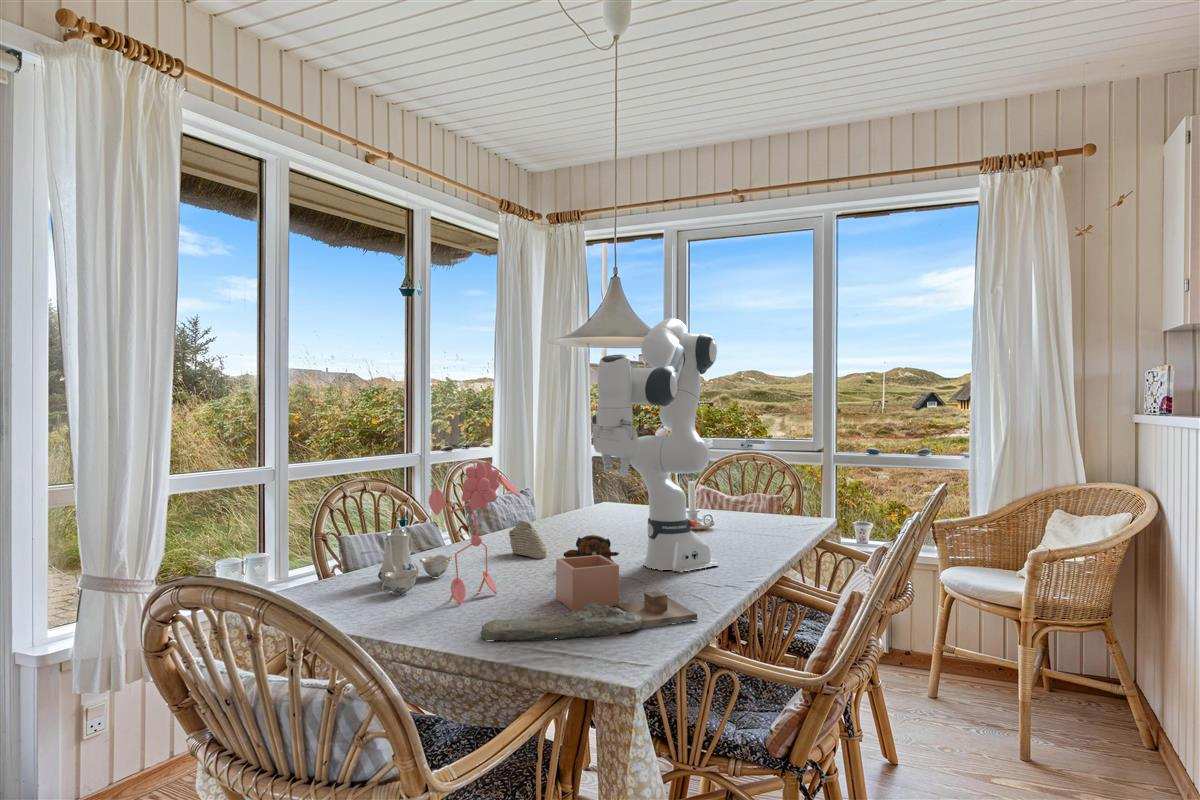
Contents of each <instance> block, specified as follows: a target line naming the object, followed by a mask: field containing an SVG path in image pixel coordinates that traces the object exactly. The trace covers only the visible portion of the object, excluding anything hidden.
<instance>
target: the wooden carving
mask: <svg viewBox="0 0 1200 800" xmlns="http://www.w3.org/2000/svg"><path fill="white" fill-rule="evenodd" d="M575 545H576V547H577V549H568V550H566V551H564V553H563V556H562V557H564V558H570V557H581V556H592V555H602V556H603V557H605V558H607V559H609V560H611V561H613V562H614V563H615V561H614V559H612V557H615V556H616V557H617V556H619V555H620V553H619V552H618V551H611V545H612V543H611V540H610V538H605V537H602V536H599V535H596V534H589V535H585V536H583V537H580V536H579V537H577V540H576V542H575Z"/></svg>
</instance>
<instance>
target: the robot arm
mask: <svg viewBox="0 0 1200 800" xmlns="http://www.w3.org/2000/svg"><path fill="white" fill-rule="evenodd" d="M640 345H641V346H640V352H641V355H642V358H643V360H644V361H645V363H647V364H648V365H649V366H650V367H633V366H631V360H630V357H629V356H628V355H626V354H612V355H605V356H603V357H601V358H600V359H599V362H598V363H599V364H598V368H597V369H598V370H597V380H596V381H597V384H596V385H597V386H596V387H597V389H596V390H597V393H598V404H597V411H596V413H595V414H594V415H592V416H591V418H590V421H591V422H590V423H591V425H592V426H593V427H592V442H593V443H592V444H593V448H594V451H595V452H596V453H599V454H601V460H602V463H603V470H604V471H605V472H612V471H613V463H612V460H611V458H612V457H616V458H619V459H620V468H619V470H618V471H619V473H618V474H619V476H621V477H627V476H628V475H629V467H630V465H631V467H632V468H633V469H634V470H636V471H637V472H638V474H639V475H640V476H641V478H642V479H643V481H644V484H645V486H646V489H647V494H648V496H647V497H648V511H649V512H648V513H649V514H648V516H649V517H648V518H647V538H648V540H647V548H646V553H645V558H644V562H643V566H644V567H645V566H646V568H648V569H651V568H652V570H655V569H658V570H657V571H663V570H674V571H685V570H690V569H695V568H699V567H704V566H708V565H714V564H717V563H718V564H719V561H718V560H717V559H715V558H712V556H711V549H710V547H709V544H708V543H707V542H706V540H704V539H702V538H701V536H698V535H697V534H696V533H695V532H693V531H692V528H697V527H698V525H699V523H698V521H697V520H693V519H692V520H691V519H689V518H687V495H686V493H685V491H684V489H683V488H681V486H679V485H677V484H676V483H674V482H673V480H672V479H671V477H670V474H684V475H685V474H687V475H688V474H695V473H701V472H703V471H704V470H705V469H706V468H707V466H708V464H709V463H710V458H711V454H710V449H709V446H708V444H707V443H706V441H705V440H703V439H702V437H700V435H699V434H698V431H697V430H696V416H697V411H698V405H699V401H700V395H701V386H702V385H701V384H702V378H701V375H704V374H705V373H706V372H707V371H708V370H709V369H710V368H711V367H712V366H713V365H714V363H715V361H716V360H717V359H716V358H717V354H718V347H717V342H716V340H715V338H714V337H713V336H712V335H710V334H707V333H694V332H688V328H687V326H686V324H685V323H684V322H683V321H682V320H680V319H678V318H674V317H669V318H666V319H664V320H662V321H660V322H658V323H657V324H656V325H655V326H653V327H652V329H650V331H648V333H646V335H645V336H644V338H643V340H642V342H641V344H640ZM633 405H636V406H638V405H639V406H642V405H645V406H647V405H649V406H651V405H652V406H658V407H659V406H660V408H659V411H658V415H659V420H660V422H661V423H662V425H664V427H666V428H667V429H669V430H670V431H671V433H670V435H650V434H649V435H642V436H638V431H637V429H636V428H635V426H634V425H633V424H634V421H633V417H634V416H633ZM713 561H717V562H713ZM674 571H673V572H674Z"/></svg>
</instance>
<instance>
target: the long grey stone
mask: <svg viewBox="0 0 1200 800" xmlns="http://www.w3.org/2000/svg"><path fill="white" fill-rule="evenodd" d="M641 626H642V618H641V617H640V616H639V615H638V614H634V613H629V612H626V611H623V610H621V609H619V608H616V607H609V606H598V604H597V603H591V604H589V605H586V606H585V607H584V608H583V609H581V610H579V611H571V610H570V612H568V613H564V614H563V615H557V616H553V615H552V616H551V615H550V616H549V615H547V616H541V617H540V616H539V617H537V616H536V617H530V618H527V617H525V618H511V619H499V620H498V619H495V620H490V621H488V622H486V623H485V624H484V625H482V626H481V631H480V635H481V636H480V638H481V639H482V640H483V639H485V640H496V641H497V640H501V641H504V640H506V641H505V642H508V641H509V640H511V641H516V640H517V641H518V640H521V641H528V640H534V641H536V639H552V640H565V639H564V638H566V639H571V638H580V637H583V638H584V637H585V638H591V637H590V636H597V637H600V636H617V635H616V634H619V635H621V634H622V633H630V632H632V631H637V630H638V629H639V630H640V629H642V628H641ZM555 638H557V639H555ZM485 640H484V641H485ZM496 641H495V642H496ZM497 642H498V641H497Z"/></svg>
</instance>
